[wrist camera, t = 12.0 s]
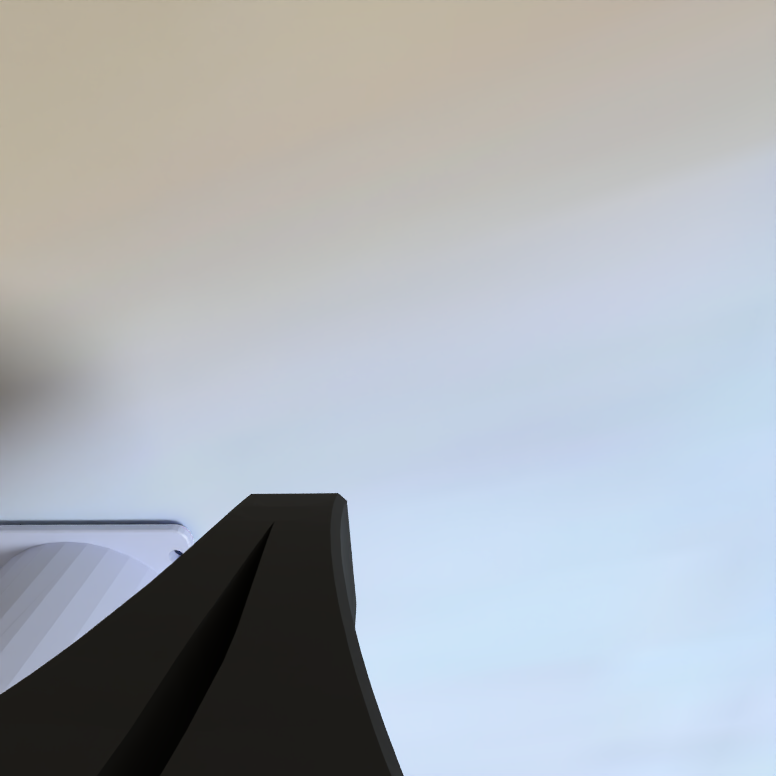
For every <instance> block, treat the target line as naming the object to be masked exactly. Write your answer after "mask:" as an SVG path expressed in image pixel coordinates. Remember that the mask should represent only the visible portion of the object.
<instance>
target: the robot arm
mask: <svg viewBox="0 0 776 776" xmlns="http://www.w3.org/2000/svg"><path fill="white" fill-rule="evenodd" d="M174 550H178V551H180V552H182V553H183V554H182V555H178V554H177V553H175V551H174ZM355 619H356V595H355V584H354V574H353V563H352V552H351V541H350V530H349V519H348V509H347V501H346V500H345V499H344V498H343V497H342V496H341V495H340V494H338V493H317V494H251V495H249V496H248V497H247V498H246V499H244V500H243V501H242V502H241V503H240V504H238V505H237V506H236V507H235V508H234V509H233V510H232V511H230V512H229V513H228V514H227V515H226V516H225V517H224V518H223V519H222V520H220V521H219V522H218V523H217V524H216V525H215V526H214V527H213V528H211V529H210V530H209V531H208V532H207V533H206V534H205V535H204V536H203V537H201V538H200V539H199V540H198V541H197V542H196V543H194V539H193V536H192V533H191V532H190V531H189V530H188V529H187V528H186V527H184V526H182V525H177V524H112V525H0V776H403V773H402V770H401V768H400V765H399V763H398V760H397V757H396V755H395V752H394V749H393V747H392V744H391V741H390V739H389V736H388V733H387V731H386V728H385V725H384V723H383V720H382V717H381V714H380V711H379V708H378V705H377V702H376V699H375V696H374V693H373V690H372V687H371V684H370V681H369V678H368V674H367V671H366V668H365V664H364V661H363V657H362V654H361V650H360V646H359V643H358V639H357V635H356V631H355Z"/></svg>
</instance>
